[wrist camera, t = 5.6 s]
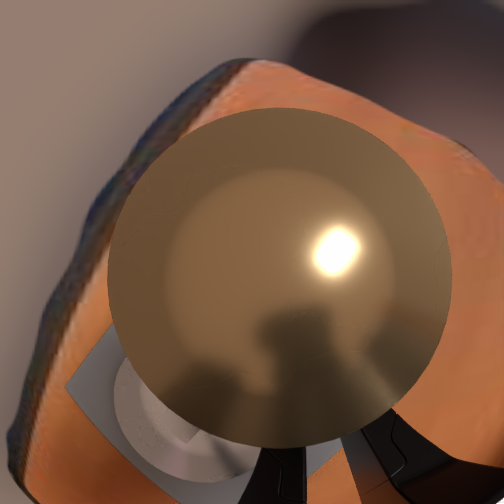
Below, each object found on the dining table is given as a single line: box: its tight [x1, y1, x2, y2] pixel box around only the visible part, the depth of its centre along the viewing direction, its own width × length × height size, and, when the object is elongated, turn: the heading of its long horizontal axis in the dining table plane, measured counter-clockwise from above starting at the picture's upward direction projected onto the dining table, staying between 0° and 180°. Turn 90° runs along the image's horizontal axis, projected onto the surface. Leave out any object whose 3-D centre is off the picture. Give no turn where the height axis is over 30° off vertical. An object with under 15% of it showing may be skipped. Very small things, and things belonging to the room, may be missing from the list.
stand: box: [65, 323, 343, 504], centre depth 13 cm, size 22×17×6 cm
